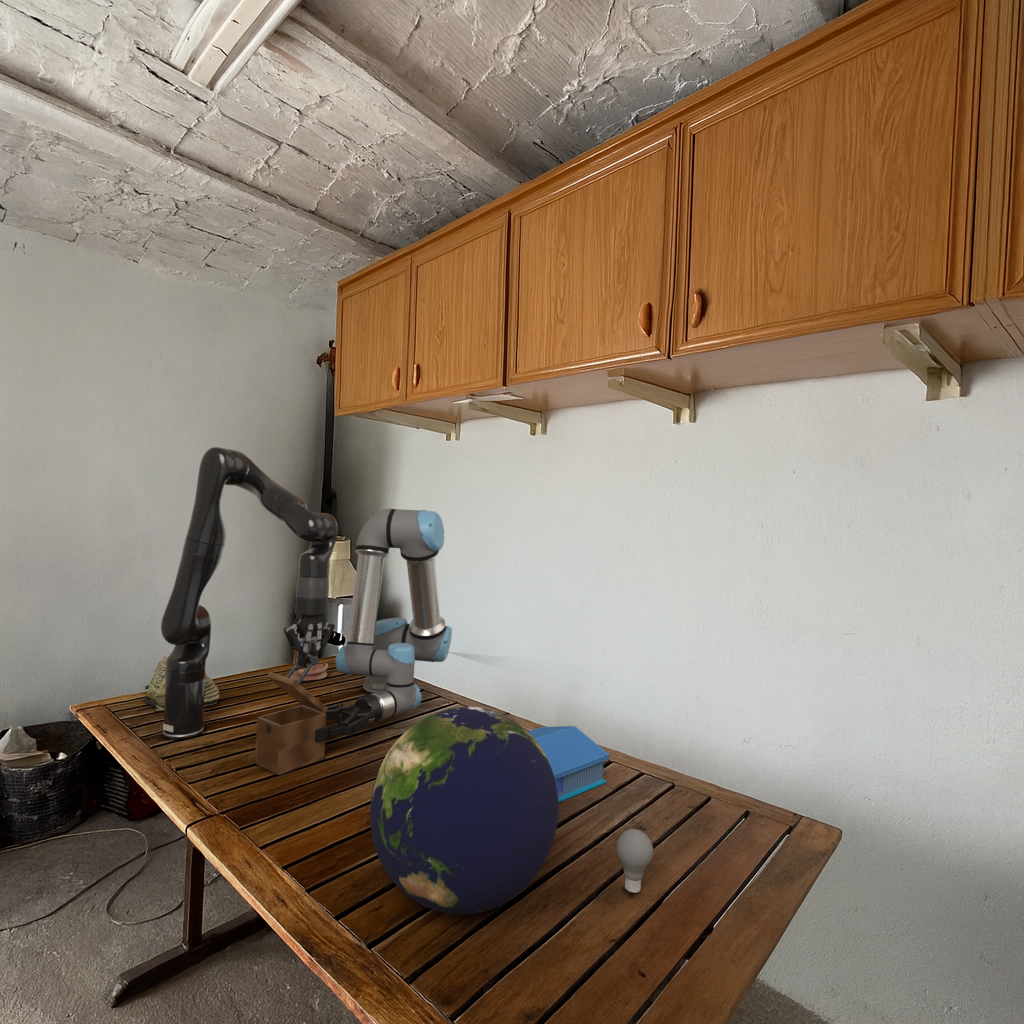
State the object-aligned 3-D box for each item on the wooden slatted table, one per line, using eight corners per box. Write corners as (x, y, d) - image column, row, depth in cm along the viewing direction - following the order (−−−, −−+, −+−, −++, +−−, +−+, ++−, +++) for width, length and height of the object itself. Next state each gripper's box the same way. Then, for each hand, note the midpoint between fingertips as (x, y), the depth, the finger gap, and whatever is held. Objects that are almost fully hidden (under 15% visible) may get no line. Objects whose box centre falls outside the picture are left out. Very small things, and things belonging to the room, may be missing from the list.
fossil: (144, 707, 182) (145, 655, 182) (212, 696, 194) (213, 647, 194) (151, 716, 175) (153, 662, 175) (221, 703, 188) (223, 653, 188)
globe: (325, 925, 94) (333, 724, 93) (426, 831, 121) (433, 676, 121) (512, 993, 82) (522, 765, 82) (577, 872, 110) (584, 701, 110)
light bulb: (610, 879, 108) (613, 822, 108) (644, 879, 109) (647, 822, 109) (619, 902, 102) (622, 840, 102) (655, 901, 103) (658, 840, 103)
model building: (485, 844, 118) (488, 791, 117) (412, 795, 136) (414, 749, 136) (617, 787, 144) (619, 743, 144) (541, 752, 162) (543, 713, 162)
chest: (278, 775, 143) (281, 726, 143) (254, 763, 148) (256, 716, 148) (324, 758, 153) (326, 713, 153) (300, 748, 159) (302, 704, 158)
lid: (290, 684, 144) (314, 650, 149) (266, 676, 150) (289, 643, 155) (324, 713, 152) (346, 680, 157) (300, 704, 158) (322, 672, 163)
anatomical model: (280, 667, 215) (298, 659, 227) (279, 678, 215) (297, 670, 227) (316, 671, 213) (332, 662, 224) (315, 682, 213) (332, 673, 224)
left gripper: (297, 598, 146) (292, 673, 146) (345, 595, 157) (340, 664, 157) (278, 594, 150) (273, 667, 150) (326, 591, 161) (321, 659, 161)
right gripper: (401, 732, 165) (331, 758, 147) (346, 712, 178) (275, 734, 160) (403, 703, 165) (332, 726, 147) (347, 685, 178) (276, 704, 160)
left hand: (307, 665), depth 153 cm, fingers closed on lid, 2 cm apart
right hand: (302, 730), depth 153 cm, fingers closed on chest, 9 cm apart
